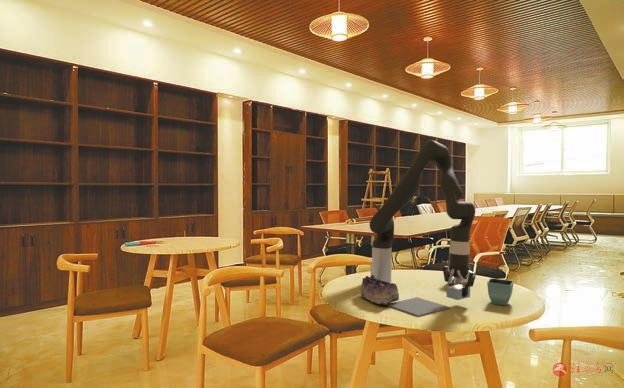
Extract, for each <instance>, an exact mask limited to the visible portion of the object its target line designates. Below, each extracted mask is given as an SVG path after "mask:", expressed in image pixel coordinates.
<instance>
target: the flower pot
mask: <svg viewBox="0 0 624 388" xmlns="http://www.w3.org/2000/svg"><path fill="white" fill-rule="evenodd" d="M486 284H487V295H488V297H489V300H490V302H491V303H492V304H493V305H500V306H507V305H508V303H509V301H510V299H511V297H512V294H513V290H514V289H513V287H514V280H509V279H499V278H494V277H493V278H492V277H490V278H489V279H488V281H487V283H486Z"/></svg>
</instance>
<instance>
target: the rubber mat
mask: <svg viewBox="0 0 624 388" xmlns="http://www.w3.org/2000/svg"><path fill="white" fill-rule="evenodd" d="M385 306H387V307H389V308H391V309H394V310H398V311H401V312H404V313H407V314H409V315H412V316H414V315H415V316H414V317H417V316H418V317H419V316H420V317H423V315H424V316H427V315H430V314H434V313H438V312H442V311H445V310H450V306H448V305H444V304H441V303H438V302H434V301H431V300H428V299H425V298H421V297H418V296H416V297H412V298H407V299H403V300H397V301H394V302H391V303H389V304H387V305H385Z"/></svg>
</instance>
